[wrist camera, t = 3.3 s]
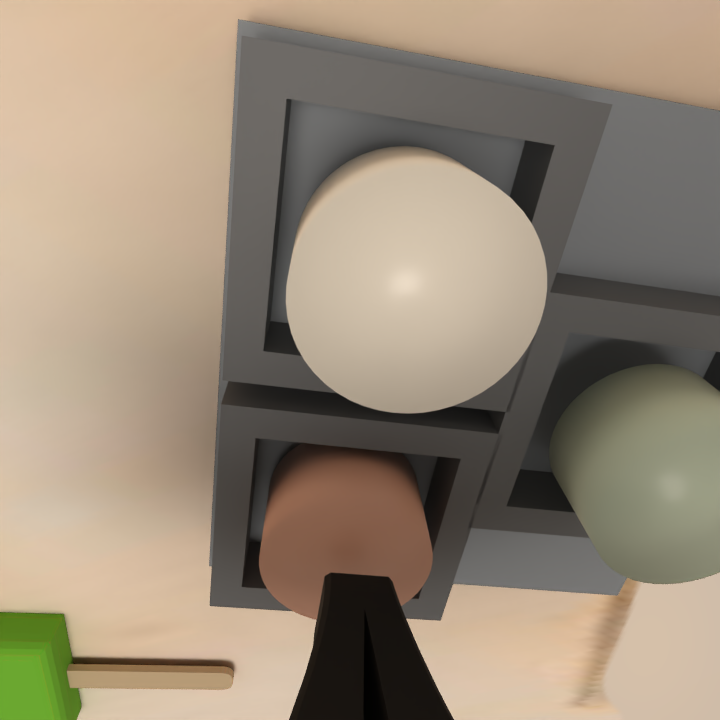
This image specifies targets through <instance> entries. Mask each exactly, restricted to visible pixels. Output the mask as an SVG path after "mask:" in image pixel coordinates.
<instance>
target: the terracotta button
mask: <svg viewBox="0 0 720 720" xmlns="http://www.w3.org/2000/svg"><path fill="white" fill-rule="evenodd" d="M432 562H433V552H432V545H431V541H430V537H429V532H428V528H427V523H426V519H425V514H424V510H423V505H422V501H421V496H420V492H419V487H418V483H417V478H416V475H415V472H414V470H413V468H412V466H411V464H410V462H409V461H408V460H407V458H406V457H405V456H404V455H403V454H402V453H398V452H388V451H378V450H369V449H359V448H349V447H339V446H329V445H319V444H309V443H302V444H300V445H298V446H296V447H295V448H294V449H292V450H291V451H290V452H289V453H288V454H286V455H285V456H284V457H283V458H282V460H281V461H280V462H279V464H278V465H277V467H276V468H275V470H274V472H273V475H272V477H271V480H270V485H269V492H268V499H267V506H266V513H265V520H264V527H263V534H262V541H261V548H260V555H259V568H260V574H261V577H262V580H263V582H264V584H265V586H266V588H267V589H268V591H269V592H270V593H271V594H272V596H273V597H274V598H275V599H277V600H278V601H279V602H280V603H281V604H283V605H284V606H285V607H287V608H288V609H290V610H292V611H294V612H296V613H298V614H301V615H303V616H306V617H309V618H312V619H316V620H317V616H318V610H319V605H320V599H321V593H322V588H323V582H324V577H325V575H327V574H329V573H331V572H332V573H345V574H359V575H373V576H386V577H389V578H390V579H391V580H392V581H393V584H394V587H395V590H396V593H397V596H398V599H399V602H400V604H401V606H402V605H404V604H405V603H406V602H408V601H409V600H410V599H412V598H413V597H414V596H415V595H416V594H417V593H418V592H419V590H420V589H421V588H422V587H423V585H424V584H425V582H426V580H427V578H428V576H429V574H430V571H431V567H432Z"/></svg>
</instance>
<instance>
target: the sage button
mask: <svg viewBox="0 0 720 720" xmlns="http://www.w3.org/2000/svg"><path fill="white" fill-rule="evenodd" d="M549 460H550V466H551V469H552V472H553V474H554V476H555V478H556V480H557V481H558V483H559V485H560V487H561V489H562V490H563V492H564V494H565V496H566V497H567V499H568V501H569V503H570V504H571V506H572V508H573V510H574V511H575V513H576V515H577V517H578V518H579V520H580V522H581V524H582V525H583V527H584V529H585V531H586V532H587V534H588V536H589V538H590V539H591V541H592V543H593V545H594V546H595V548H596V550H597V552H598V553H599V555H600V557H601V559H602V560H603V561H604V562H605V563H606V564H607V565H608V566H609V567H610V568H611V569H613V570H614V571H615V572H617V573H619V574H621V575H622V576H624V577H627V578H630V579H632V580H636V581H640V582H644V583H652V584H674V583H683V582H688V581H694V580H698V579H701V578H705V577H708V576H711V575H714V574H717V573H719V572H720V392H719V391H718V390H717V389H716V388H714V387H713V386H712V385H711V384H709V383H708V382H707V381H706V380H704V379H703V378H702V377H701V376H699V375H698V374H696V373H694V372H692V371H690V370H688V369H685V368H682V367H679V366H674V365H668V364H646V365H640V366H634V367H631V368H627V369H623V370H620V371H618V372H615V373H613V374H610V375H608V376H606V377H605V378H603V379H601V380H599V381H597V382H596V383H594V384H593V385H591V386H590V387H588V388H587V389H586V390H584V391H583V392H582V393H581V394H580V395H578V396H577V397H576V398H575V399H574V400H573V401H572V402H571V403H570V405H569V406H568V407H567V408H566V410H565V411H564V412H563V414H562V415H561V417H560V419H559V420H558V422H557V424H556V426H555V428H554V430H553V434H552V437H551V440H550V447H549Z"/></svg>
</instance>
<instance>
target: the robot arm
mask: <svg viewBox="0 0 720 720" xmlns="http://www.w3.org/2000/svg"><path fill="white" fill-rule="evenodd" d="M289 720H454V719H453V717H452V715H451V713H450V711H449V710H448V708H447V706H446V704H445V702H444V700H443V698H442V696H441V694H440V692H439V690H438V688H437V686H436V684H435V682H434V680H433V678H432V676H431V674H430V672H429V670H428V667H427V665H426V663H425V661H424V659H423V657H422V655H421V653H420V650H419V648H418V646H417V644H416V641H415V639H414V637H413V634H412V632H411V630H410V627H409V625H408V622H407V620H406V617H405V615H404V612H403V610H402V607H401V604H400V602H399V599H398V596H397V593H396V590H395V587H394V584H393V581H392V580H391V579H390V578H389V577H386V576H373V575H359V574H345V573H332V572H331V573H329V574H327V575H325V577H324V582H323V588H322V593H321V599H320V605H319V610H318V616H317V621H316V627H315V633H314V644H313V649H312V652H311V656H310V659H309V663H308V666H307V670H306V673H305V676H304V679H303V682H302V685H301V688H300V690H299V693H298V696H297V699H296V702H295V705H294V707H293V710H292V713H291V716H290V719H289Z"/></svg>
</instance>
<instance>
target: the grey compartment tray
mask: <svg viewBox="0 0 720 720" xmlns="http://www.w3.org/2000/svg"><path fill="white" fill-rule="evenodd" d="M396 146H411V147H421V148H425V149H429V150H433V151H436V152H439V153H441V154H444V155H446V156H449V157H450V158H452V159H454V160H456V161H457V162H459V163H461V164H462V165H464V166H465V167H467V168H469V169H470V170H472V171H473V172H475V173H476V174H478V175H479V176H481V177H482V178H484V179H485V180H487V181H489V182H490V183H492V184H493V185H495V186H496V187H498V188H499V189H500V190H502V191H503V192H504V193H505V194H507V195H508V196H509V197H510V198H512V200H513V201H514V202H515V203H516V204H517V205H518V206H519V207H520V208H521V209H522V210H523V212H524V213H525V215H526V216H527V218H528V219H529V221H530V222H531V223H532V225H533V227H534V229H535V231H536V233H537V235H538V237H539V240H540V243H541V246H542V249H543V252H544V256H545V262H546V269H547V293H546V301H545V307H544V310H543V314H542V318H541V321H540V323H539V326H538V328H537V331H536V333H535V335H534V337H533V339H532V341H531V343H530V344H529V346H528V348H527V349H526V351H525V352H524V354H523V355H522V356H521V358H520V359H519V360H518V362H517V363H516V364H515V365H514V366H513V367H512V368H511V369H510V370H509V372H508V373H507V374H505V375H504V376H503V377H502V378H501V379H500V380H499V381H497V382H496V383H495V384H494V385H492V386H491V387H489V388H488V389H486V390H485V391H483V392H482V393H480V394H478V395H476V396H475V397H473V398H471V399H469V400H467V401H464V402H462V403H459V404H457V405H454V406H451V407H448V408H444V409H441V410H436V411H430V412H424V413H409V414H408V413H392V412H386V411H380V410H375V409H372V408H369V407H365V406H362V405H360V404H358V403H355V402H353V401H350V400H349V399H347V398H345V397H343V396H342V395H340V394H338V393H336V392H335V391H334V390H333V389H331V388H330V387H329V386H327V385H326V384H325V383H324V382H323V381H322V380H321V379H320V378H319V377H318V376H317V375H316V374H315V373H314V372H313V371H312V370H311V368H310V367H309V366H308V365H307V363H306V362H305V361H304V359H303V357H302V355H301V354H300V352H299V350H298V348H297V346H296V344H295V341H294V339H293V336H292V334H291V330H290V326H289V322H288V318H287V309H286V285H287V279H288V273H289V268H290V263H291V258H292V253H293V248H294V243H295V237H296V232H297V228H298V225H299V222H300V218H301V215H302V213H303V211H304V209H305V207H306V205H307V203H308V201H309V200H310V198H311V197H312V195H313V193H314V192H315V190H316V189H317V188H318V187H319V186H320V185H321V183H322V182H323V181H324V180H325V179H326V178H327V177H328V176H329V175H330V174H331V173H333V172H334V171H335V170H336V169H337V168H339V167H340V166H342V165H343V164H345V163H346V162H348V161H349V160H351V159H354V158H356V157H358V156H360V155H362V154H364V153H367V152H370V151H373V150H376V149H382V148H387V147H396ZM646 364H668V365H674V366H679V367H682V368H685V369H688V370H690V371H692V372H694V373H696V374H698V375H699V376H701V377H702V378H703V379H704V380H706V381H707V382H708V383H709V384H711V385H712V386H713V387H714V388H716V389H717V390H718V391H719V392H720V111H719V110H713V109H708V108H703V107H698V106H692V105H687V104H682V103H676V102H671V101H666V100H661V99H655V98H650V97H645V96H640V95H634V94H629V93H624V92H618V91H613V90H608V89H603V88H597V87H592V86H587V85H582V84H576V83H571V82H566V81H560V80H555V79H550V78H545V77H539V76H534V75H529V74H524V73H518V72H513V71H508V70H502V69H497V68H492V67H487V66H481V65H476V64H471V63H466V62H460V61H455V60H450V59H444V58H439V57H434V56H429V55H423V54H418V53H413V52H408V51H402V50H397V49H392V48H386V47H381V46H376V45H371V44H365V43H360V42H355V41H350V40H344V39H339V38H334V37H328V36H323V35H318V34H313V33H307V32H302V31H297V30H292V29H286V28H281V27H276V26H270V25H265V24H260V23H255V22H249V21H244V20H239V19H238V32H237V51H236V70H235V89H234V108H233V127H232V145H231V164H230V183H229V202H228V221H227V240H226V259H225V277H224V296H223V315H222V334H221V353H220V372H219V391H218V410H217V428H216V447H215V466H214V485H213V504H212V523H211V542H210V560H209V566H212V574H211V591H210V606H219V607H235V608H250V609H266V610H282V611H292V610H290V609H288V608H287V607H285V606H284V605H283V604H281V603H280V602H279V601H278V600H277V599H275V598H274V597H273V596H272V594H271V593H270V592H269V591H268V589H267V588H266V586H265V584H264V582H263V580H262V577H261V574H260V568H259V555H260V548H261V541H262V534H263V527H264V520H265V513H266V506H267V499H268V492H269V485H270V480H271V477H272V475H273V472H274V470H275V468H276V467H277V465H278V464H279V462H280V461H281V460H282V458H283V457H284V456H285V455H286V454H288V453H289V452H290V451H291V450H292V449H294V448H295V447H296V446H298V445H300V444H302V443H309V444H319V445H329V446H339V447H349V448H359V449H369V450H378V451H388V452H398V453H402V454H403V455H404V456H405V457H406V458H407V460H408V461H409V462H410V464H411V466H412V468H413V470H414V472H415V475H416V478H417V483H418V487H419V492H420V496H421V501H422V505H423V510H424V514H425V519H426V523H427V528H428V532H429V537H430V541H431V545H432V552H433V562H432V567H431V571H430V574H429V576H428V578H427V580H426V582H425V584H424V585H423V587H422V588H421V589H420V590H419V592H418V593H417V594H416V595H415V596H414V597H413V598H412V599H410V600H409V601H408V602H406V603H405V604H404V605H402V606H401V607H402V610H403V612H404V615H405V617H406V618H408V619H424V620H439V621H440V620H441V617H442V614H443V611H444V608H445V606H446V603H447V600H448V597H449V594H450V591H451V588H452V585H453V584H465V585H479V586H493V587H507V588H521V589H535V590H548V591H562V592H576V593H590V594H604V595H618V594H619V592H620V590H621V588H622V586H623V584H624V582H625V580H626V578H627V577H624V576H622V575H621V574H619V573H617V572H615V571H614V570H613V569H611V568H610V567H609V566H608V565H607V564H606V563H605V562H604V561H603V560H602V559H601V557H600V555H599V553H598V552H597V550H596V548H595V546H594V545H593V543H592V541H591V539H590V538H589V536H588V534H587V532H586V531H585V529H584V527H583V525H582V524H581V522H580V520H579V518H578V517H577V515H576V513H575V511H574V510H573V508H572V506H571V504H570V503H569V501H568V499H567V497H566V496H565V494H564V492H563V490H562V489H561V487H560V485H559V483H558V481H557V480H556V478H555V476H554V474H553V472H552V469H551V466H550V460H549V447H550V440H551V437H552V434H553V430H554V428H555V426H556V424H557V422H558V420H559V419H560V417H561V415H562V414H563V412H564V411H565V410H566V408H567V407H568V406H569V405H570V403H571V402H572V401H573V400H574V399H575V398H576V397H577V396H578V395H580V394H581V393H582V392H583V391H584V390H586V389H587V388H588V387H590V386H591V385H593V384H594V383H596V382H597V381H599V380H601V379H603V378H605V377H606V376H608V375H610V374H613V373H615V372H618V371H620V370H623V369H627V368H631V367H634V366H640V365H646Z"/></svg>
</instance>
